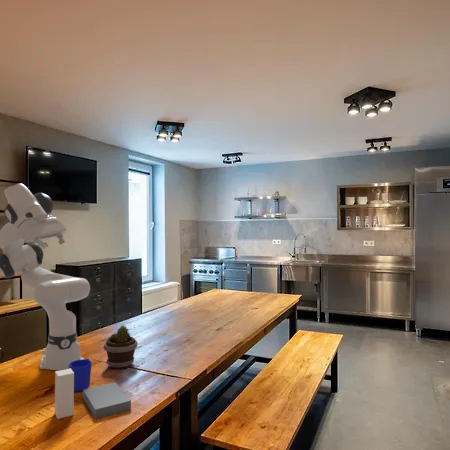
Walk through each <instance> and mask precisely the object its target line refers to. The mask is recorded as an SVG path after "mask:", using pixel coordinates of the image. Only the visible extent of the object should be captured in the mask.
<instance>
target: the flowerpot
mask: <svg viewBox="0 0 450 450" xmlns="http://www.w3.org/2000/svg"><path fill="white" fill-rule="evenodd" d="M102 348H103V349H104V351H106V355H107V359H106V364H107V365H108V366H109V368H110V369H113V370H122V369H128V368H130V367H132V365H133V363H134V362H135V357H134V356H135V355H134V354H135V351H136V349H137V348H138V341H137V340H136V338H135V337H133V336H131V333H130V331H129V328H127V326H126V325H125V324H124V325H123V324H120V326H119V327H118V328H117V329H116V330H115V332H113V333H112V335H111V334H110V337H108V338H107V339H106V342H104V344H103V347H102Z"/></svg>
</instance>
